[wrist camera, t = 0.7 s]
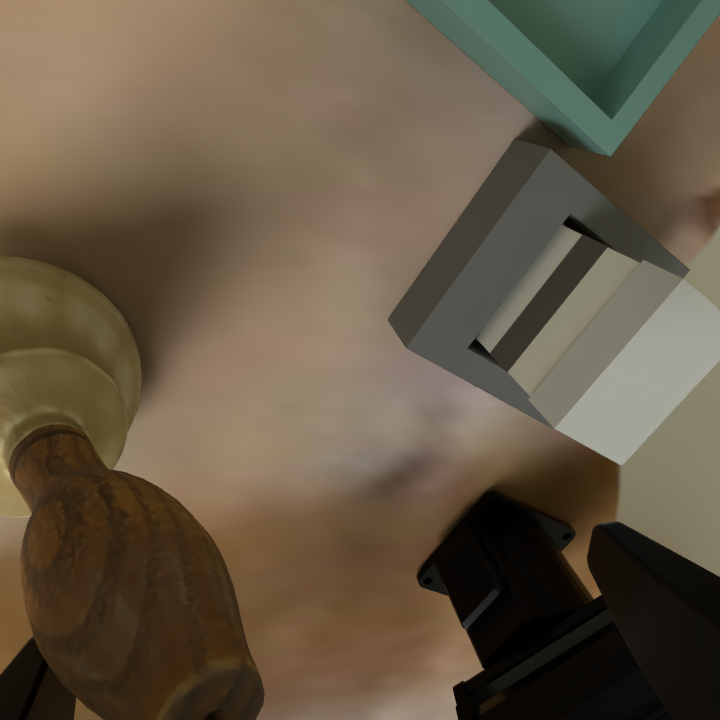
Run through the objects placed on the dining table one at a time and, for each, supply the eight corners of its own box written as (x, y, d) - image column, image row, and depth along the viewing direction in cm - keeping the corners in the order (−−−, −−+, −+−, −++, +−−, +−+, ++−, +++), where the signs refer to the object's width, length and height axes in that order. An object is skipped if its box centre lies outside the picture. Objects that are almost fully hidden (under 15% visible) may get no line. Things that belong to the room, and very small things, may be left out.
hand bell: (-141, 543, 17) (-222, 1407, 5) (-194, 256, 15) (-567, 440, 3) (146, 475, 22) (464, 800, 10) (133, 254, 20) (506, 316, 8)
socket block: (646, 250, 24) (690, 269, 22) (524, 398, 26) (553, 428, 24) (515, 138, 20) (550, 148, 18) (387, 319, 22) (406, 347, 20)
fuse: (587, 249, 23) (746, 331, 16) (507, 350, 25) (621, 465, 18) (534, 208, 22) (683, 278, 15) (452, 317, 23) (554, 428, 16)
